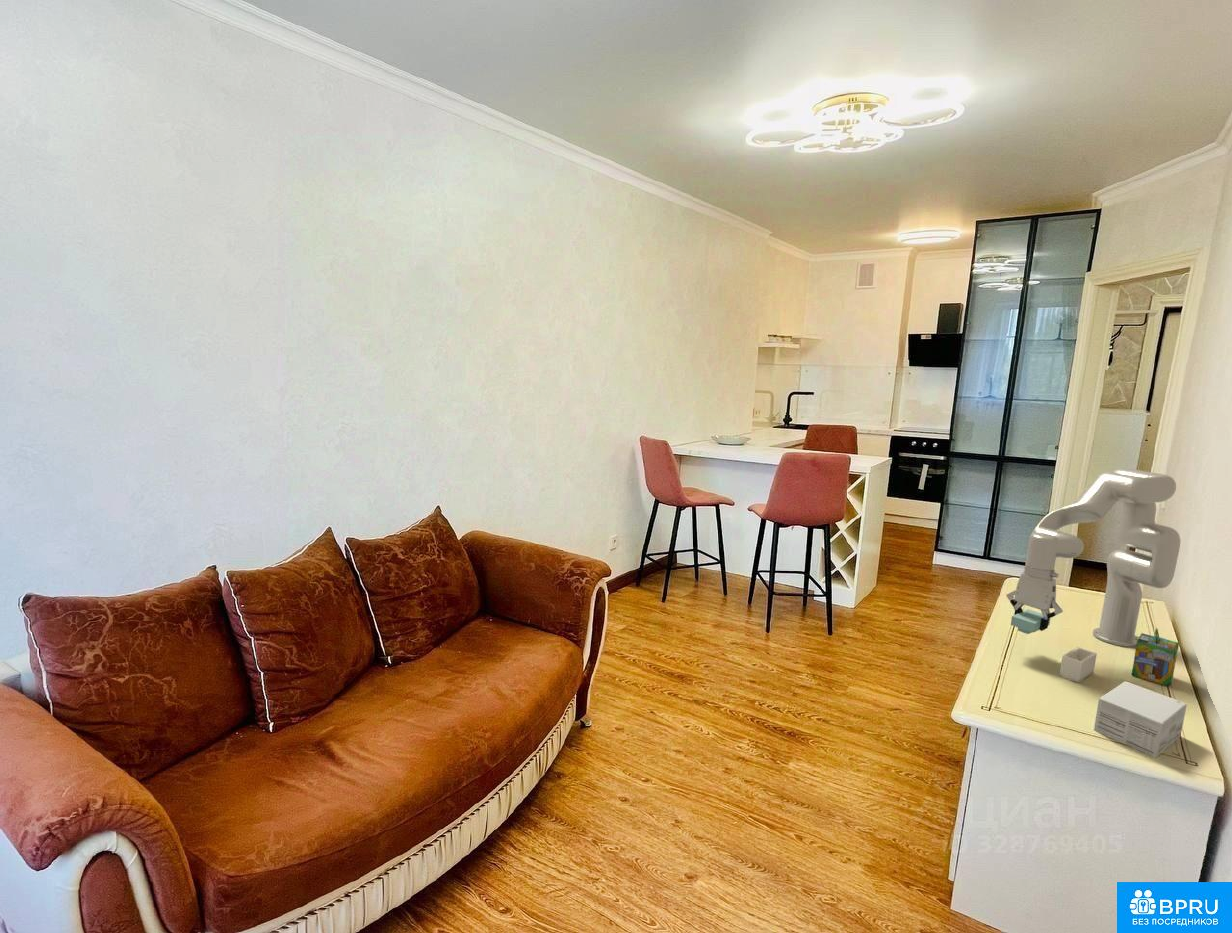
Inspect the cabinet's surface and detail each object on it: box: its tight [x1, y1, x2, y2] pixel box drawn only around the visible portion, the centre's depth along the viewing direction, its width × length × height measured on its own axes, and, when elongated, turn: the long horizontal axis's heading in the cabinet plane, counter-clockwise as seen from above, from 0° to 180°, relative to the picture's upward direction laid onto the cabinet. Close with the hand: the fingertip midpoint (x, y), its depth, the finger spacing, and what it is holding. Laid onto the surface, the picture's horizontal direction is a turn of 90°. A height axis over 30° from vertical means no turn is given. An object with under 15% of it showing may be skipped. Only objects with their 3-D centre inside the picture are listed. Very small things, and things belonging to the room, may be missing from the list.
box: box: [1058, 646, 1097, 684], centre depth 187 cm, size 11×5×6 cm, turn 124°
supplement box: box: [1093, 680, 1188, 758], centre depth 157 cm, size 17×13×9 cm
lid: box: [1010, 608, 1051, 635], centre depth 197 cm, size 12×6×4 cm, turn 124°
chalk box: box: [1131, 627, 1180, 687], centre depth 186 cm, size 9×9×15 cm
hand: (1030, 625), depth 197 cm, fingers closed on lid, 6 cm apart
